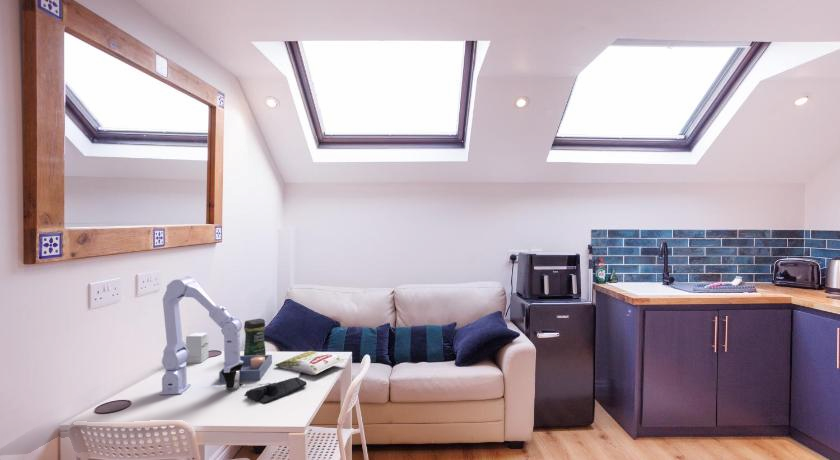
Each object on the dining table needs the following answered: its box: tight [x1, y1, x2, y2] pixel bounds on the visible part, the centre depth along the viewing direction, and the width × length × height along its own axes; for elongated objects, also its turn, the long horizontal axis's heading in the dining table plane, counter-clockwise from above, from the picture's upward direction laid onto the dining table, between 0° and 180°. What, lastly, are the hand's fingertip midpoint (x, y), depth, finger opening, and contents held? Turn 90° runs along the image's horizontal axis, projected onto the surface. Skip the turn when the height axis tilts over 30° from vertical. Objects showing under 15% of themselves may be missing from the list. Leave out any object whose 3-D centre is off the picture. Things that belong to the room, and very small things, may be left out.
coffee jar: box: [243, 318, 267, 356], centre depth 221 cm, size 10×8×19 cm
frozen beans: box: [275, 350, 347, 376], centre depth 205 cm, size 21×6×25 cm
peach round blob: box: [251, 356, 265, 370], centre depth 203 cm, size 6×6×4 cm
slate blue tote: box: [218, 354, 273, 383], centre depth 197 cm, size 22×16×5 cm
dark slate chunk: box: [244, 376, 307, 404], centre depth 177 cm, size 15×22×5 cm
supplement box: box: [185, 332, 209, 364], centre depth 217 cm, size 7×7×13 cm
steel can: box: [225, 369, 241, 392], centre depth 180 cm, size 5×5×7 cm
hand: (232, 384), depth 180 cm, fingers open, 5 cm apart
